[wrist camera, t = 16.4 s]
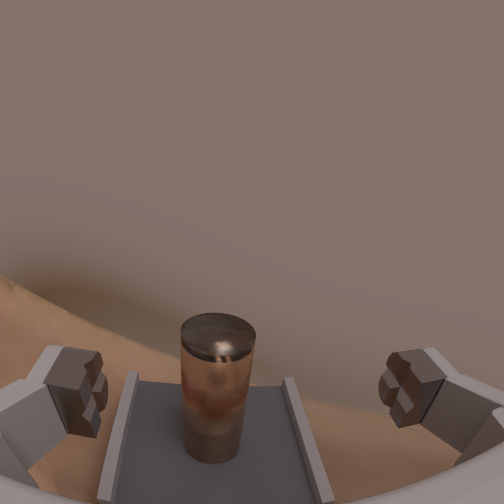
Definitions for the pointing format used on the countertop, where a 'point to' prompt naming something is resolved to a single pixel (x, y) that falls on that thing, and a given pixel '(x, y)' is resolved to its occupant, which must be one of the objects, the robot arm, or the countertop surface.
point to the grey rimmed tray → (211, 475)
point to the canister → (215, 384)
